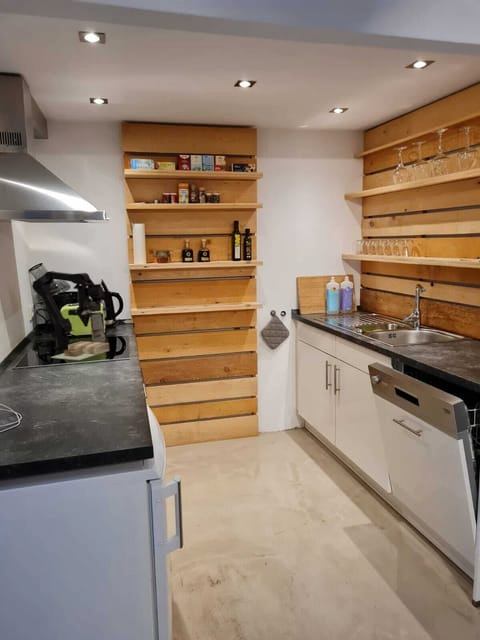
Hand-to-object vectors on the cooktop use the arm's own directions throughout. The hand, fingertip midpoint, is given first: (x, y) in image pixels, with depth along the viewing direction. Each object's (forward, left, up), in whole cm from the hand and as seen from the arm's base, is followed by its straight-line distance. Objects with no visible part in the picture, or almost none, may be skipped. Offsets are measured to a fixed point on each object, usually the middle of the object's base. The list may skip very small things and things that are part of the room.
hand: (86, 326), depth 255 cm
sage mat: (+6, -17, -12) cm, 22 cm away
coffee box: (-9, +19, -12) cm, 24 cm away
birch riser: (+6, -6, -12) cm, 15 cm away
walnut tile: (+5, -16, -9) cm, 19 cm away
